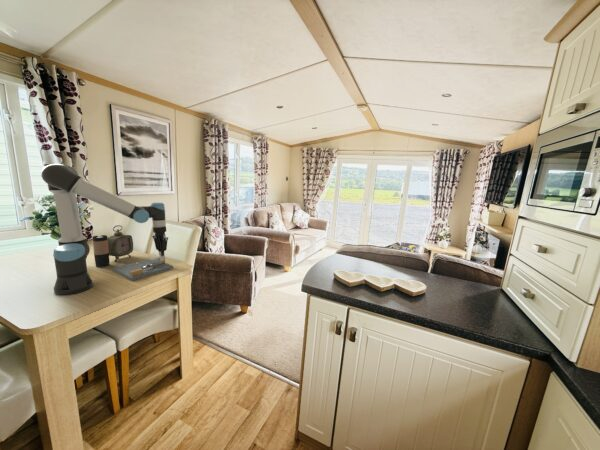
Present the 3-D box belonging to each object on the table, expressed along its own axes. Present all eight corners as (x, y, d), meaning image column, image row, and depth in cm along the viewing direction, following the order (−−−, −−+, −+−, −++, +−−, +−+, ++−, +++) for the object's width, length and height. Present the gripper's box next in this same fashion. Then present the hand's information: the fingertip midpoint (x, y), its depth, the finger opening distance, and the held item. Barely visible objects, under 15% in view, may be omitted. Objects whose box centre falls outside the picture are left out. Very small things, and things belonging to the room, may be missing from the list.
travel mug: (103, 267, 155) (100, 238, 151) (92, 267, 155) (88, 237, 151) (113, 263, 162) (110, 235, 159) (102, 263, 163) (99, 234, 159)
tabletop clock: (115, 263, 164) (112, 227, 159) (105, 261, 165) (101, 226, 161) (134, 256, 178) (131, 224, 173) (124, 255, 179) (121, 223, 175)
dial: (146, 269, 150) (145, 262, 149) (140, 268, 152) (139, 260, 151) (167, 263, 163) (166, 256, 162) (161, 261, 165) (161, 254, 164)
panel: (131, 280, 139) (131, 277, 139) (113, 270, 151) (112, 267, 151) (173, 268, 160) (172, 265, 160) (153, 260, 172) (153, 257, 172)
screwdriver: (131, 276, 141) (131, 272, 140) (129, 275, 142) (129, 271, 141) (153, 270, 151) (153, 266, 150) (151, 269, 152) (151, 265, 152)
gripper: (171, 226, 157) (173, 260, 161) (158, 224, 162) (161, 257, 167) (160, 228, 150) (162, 263, 155) (147, 226, 156) (150, 260, 160)
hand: (162, 260), depth 161 cm, fingers closed
